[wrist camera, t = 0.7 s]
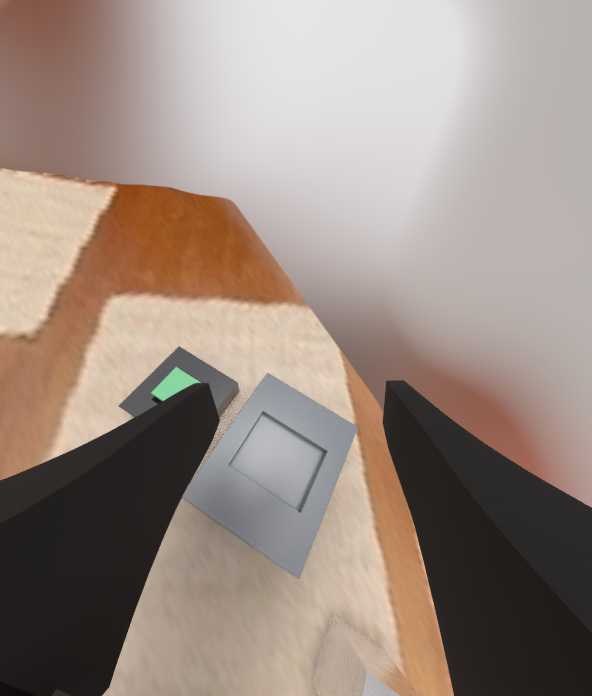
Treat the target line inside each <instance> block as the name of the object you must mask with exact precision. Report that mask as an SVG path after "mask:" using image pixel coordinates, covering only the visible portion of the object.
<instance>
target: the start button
mask: <svg viewBox="0 0 592 696" xmlns="http://www.w3.org/2000/svg"><path fill="white" fill-rule="evenodd" d="M194 383H201V382H199V381H198V380H196V379H195V378H193V377H191V376H190V375H188V374H187V373H185V372H184V371H182V370H180V369H179V368H177V367H176V368H175V369H174V370H173V371H172V372H171V373H170V374H169V375H168V376H167V377H166V378H165V379H164V380H163V381H162V382H161V383H160V384H159V385H158V386H157V387H156V388H155V389H154V390H153V391H152V392H151V393H152V394H153V395H154V396H155V397H157V398H158V399H159V400H161V401H164V400H165V399H167V398H169V397H170V396H172V395H174V394H176V393H177V392H179V391H181V390H183V389H184V388H186V387H188V386H190V385H192V384H194Z"/></svg>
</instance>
